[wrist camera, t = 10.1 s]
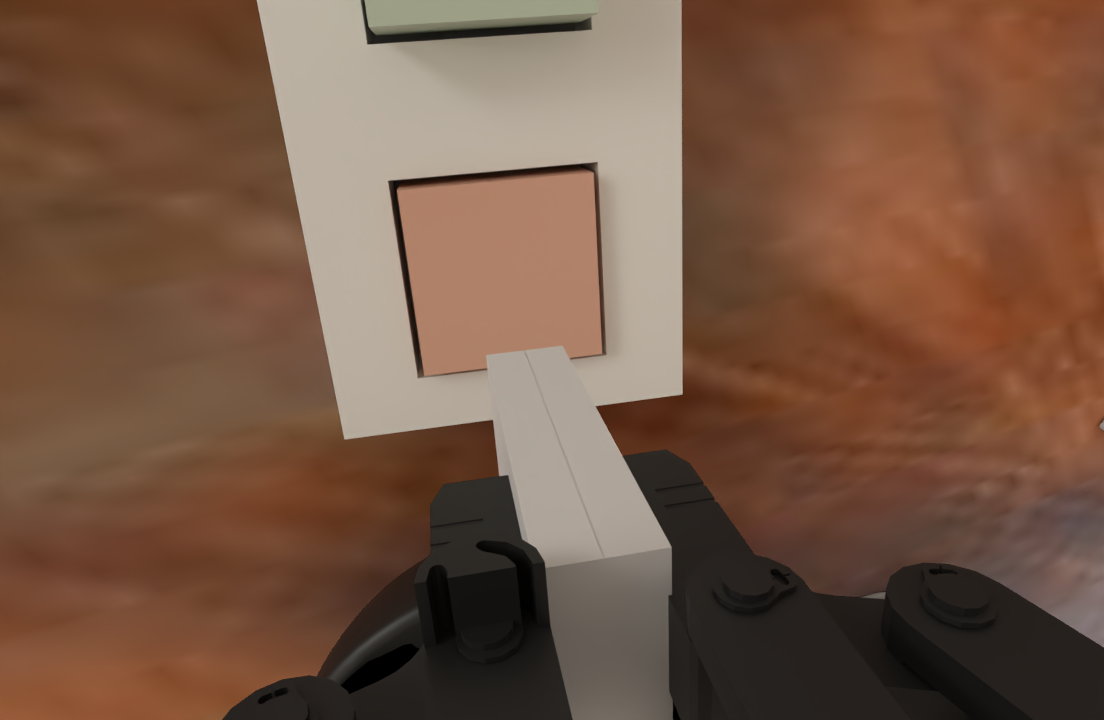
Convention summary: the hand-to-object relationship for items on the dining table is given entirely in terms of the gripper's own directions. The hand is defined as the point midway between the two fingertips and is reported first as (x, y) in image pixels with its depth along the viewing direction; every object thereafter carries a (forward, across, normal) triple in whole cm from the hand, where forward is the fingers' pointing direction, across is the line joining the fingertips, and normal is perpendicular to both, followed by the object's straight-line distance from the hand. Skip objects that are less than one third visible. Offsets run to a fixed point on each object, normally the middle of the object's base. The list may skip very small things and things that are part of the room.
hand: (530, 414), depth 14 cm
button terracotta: (+16, +1, 0) cm, 16 cm away
